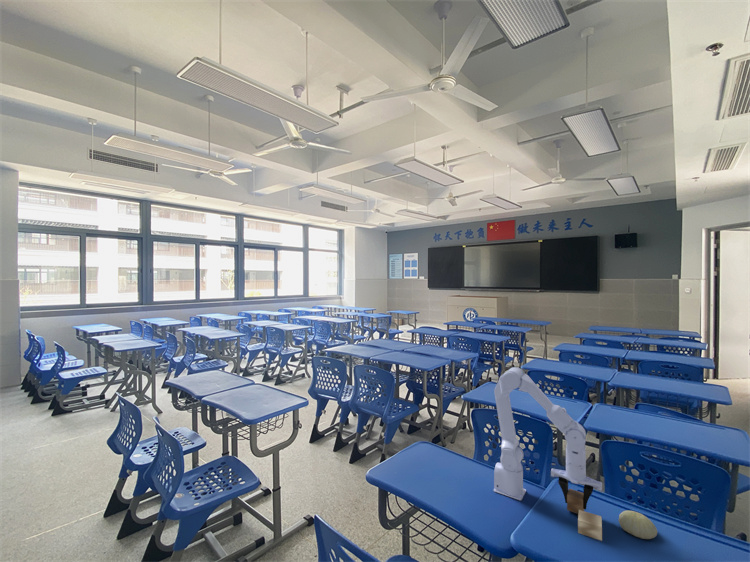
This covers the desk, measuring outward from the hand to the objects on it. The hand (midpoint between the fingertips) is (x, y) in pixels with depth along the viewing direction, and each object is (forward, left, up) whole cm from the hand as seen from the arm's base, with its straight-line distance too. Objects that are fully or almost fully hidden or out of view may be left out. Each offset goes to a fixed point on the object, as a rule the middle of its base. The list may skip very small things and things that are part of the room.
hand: (575, 504), depth 113 cm
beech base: (+5, -8, -3) cm, 10 cm away
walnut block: (0, 0, -2) cm, 2 cm away
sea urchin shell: (+16, +1, -3) cm, 16 cm away
